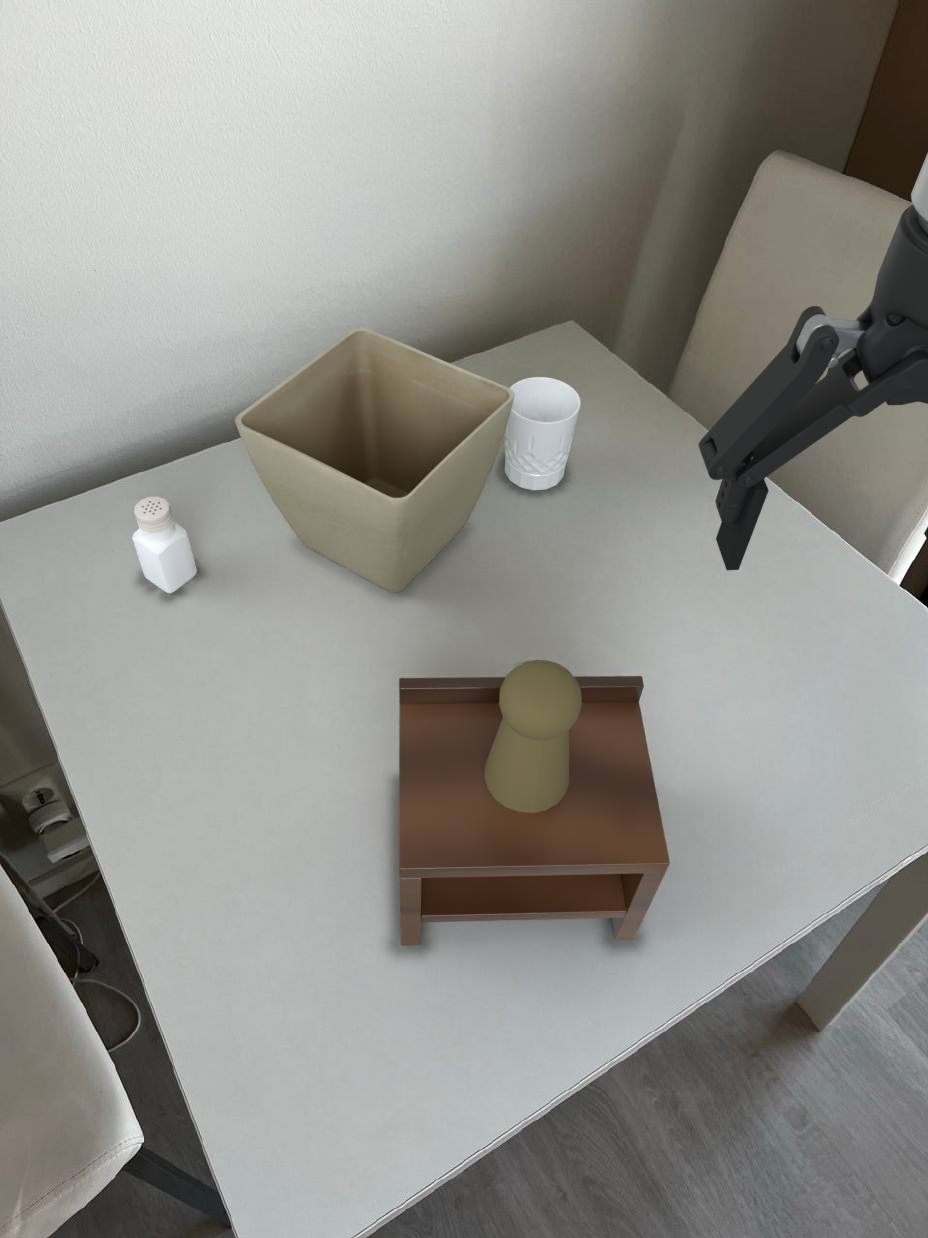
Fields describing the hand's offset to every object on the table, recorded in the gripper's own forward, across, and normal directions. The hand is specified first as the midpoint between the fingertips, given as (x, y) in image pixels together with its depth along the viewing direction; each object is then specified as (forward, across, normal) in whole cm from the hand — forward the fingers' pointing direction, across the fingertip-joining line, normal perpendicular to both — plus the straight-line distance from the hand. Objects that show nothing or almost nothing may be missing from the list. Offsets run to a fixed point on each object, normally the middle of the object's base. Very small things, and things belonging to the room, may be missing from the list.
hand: (833, 551), depth 59 cm
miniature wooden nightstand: (+30, +18, +5) cm, 35 cm away
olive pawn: (+16, +18, +5) cm, 25 cm away
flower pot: (+30, +28, -32) cm, 52 cm away
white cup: (+29, +11, -42) cm, 52 cm away
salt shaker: (+29, +50, -27) cm, 64 cm away
